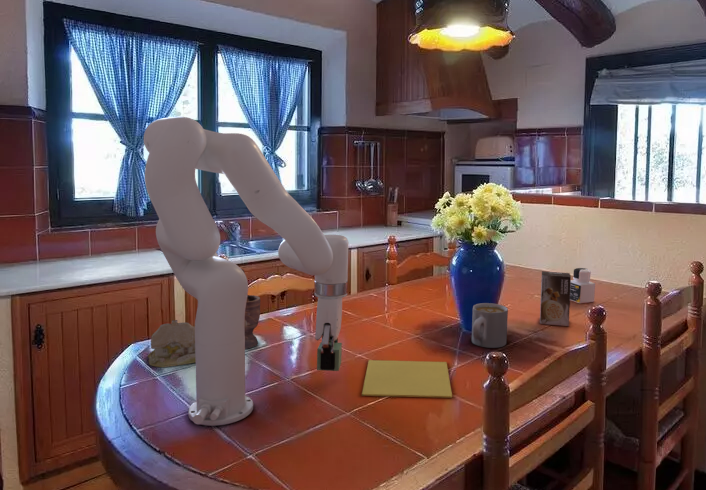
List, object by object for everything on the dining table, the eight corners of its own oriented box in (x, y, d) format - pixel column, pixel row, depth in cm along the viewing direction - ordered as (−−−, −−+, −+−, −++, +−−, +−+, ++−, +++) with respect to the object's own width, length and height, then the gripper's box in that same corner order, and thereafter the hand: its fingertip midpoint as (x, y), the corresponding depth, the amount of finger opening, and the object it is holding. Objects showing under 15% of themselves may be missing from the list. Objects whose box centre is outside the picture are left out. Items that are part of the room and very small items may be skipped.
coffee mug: (486, 333, 167) (487, 301, 166) (513, 342, 160) (515, 308, 159) (456, 343, 158) (457, 309, 157) (483, 353, 151) (484, 317, 150)
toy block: (338, 371, 128) (339, 349, 127) (316, 370, 128) (317, 349, 127) (341, 363, 133) (341, 342, 132) (320, 362, 133) (320, 341, 132)
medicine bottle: (566, 298, 209) (568, 267, 208) (581, 297, 212) (583, 266, 211) (579, 303, 203) (581, 271, 201) (594, 302, 206) (596, 270, 204)
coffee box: (568, 320, 182) (571, 272, 180) (569, 326, 176) (571, 276, 174) (539, 318, 184) (541, 270, 182) (539, 324, 178) (541, 274, 176)
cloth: (452, 397, 123) (452, 396, 123) (361, 395, 123) (361, 393, 123) (446, 363, 143) (446, 361, 143) (368, 361, 143) (368, 360, 143)
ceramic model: (141, 369, 135) (140, 329, 134) (150, 352, 145) (149, 315, 144) (203, 364, 138) (202, 325, 137) (207, 348, 149) (206, 312, 148)
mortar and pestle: (216, 341, 155) (215, 271, 152) (244, 334, 161) (244, 266, 159) (238, 352, 147) (237, 278, 144) (266, 345, 153) (266, 273, 151)
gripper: (320, 279, 137) (319, 351, 139) (307, 297, 120) (306, 378, 122) (351, 280, 137) (349, 352, 139) (342, 298, 120) (340, 379, 122)
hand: (329, 363), depth 130 cm, fingers closed on toy block, 5 cm apart
